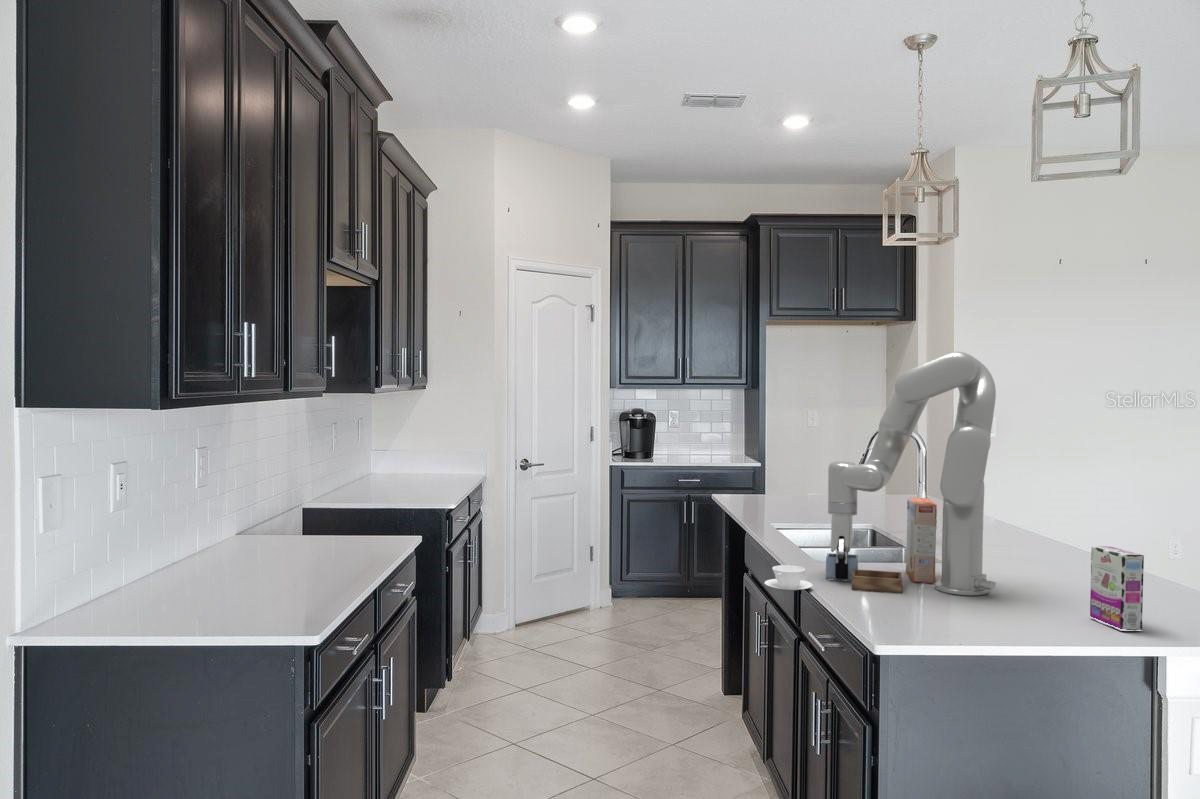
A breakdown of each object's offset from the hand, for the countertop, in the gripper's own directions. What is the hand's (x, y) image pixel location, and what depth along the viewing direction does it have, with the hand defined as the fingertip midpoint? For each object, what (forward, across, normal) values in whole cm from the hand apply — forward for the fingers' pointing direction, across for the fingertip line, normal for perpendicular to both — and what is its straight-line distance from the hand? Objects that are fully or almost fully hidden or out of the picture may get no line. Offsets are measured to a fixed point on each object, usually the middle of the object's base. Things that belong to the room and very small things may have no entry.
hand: (842, 575), depth 241 cm
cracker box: (+1, -8, +20) cm, 22 cm away
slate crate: (+1, 0, 0) cm, 1 cm away
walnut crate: (+1, +8, +9) cm, 12 cm away
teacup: (+1, +17, -12) cm, 21 cm away
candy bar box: (+1, +28, +59) cm, 65 cm away
